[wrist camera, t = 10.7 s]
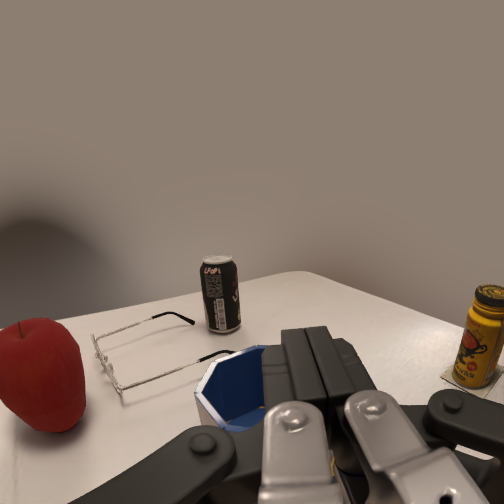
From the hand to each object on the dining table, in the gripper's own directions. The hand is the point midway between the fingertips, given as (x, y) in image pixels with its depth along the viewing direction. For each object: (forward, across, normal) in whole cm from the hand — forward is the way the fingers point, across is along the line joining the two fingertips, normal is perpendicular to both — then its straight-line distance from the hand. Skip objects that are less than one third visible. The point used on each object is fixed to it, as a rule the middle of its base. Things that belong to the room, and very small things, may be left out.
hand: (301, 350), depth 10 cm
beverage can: (+36, +7, +18) cm, 41 cm away
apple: (+11, +25, +18) cm, 33 cm away
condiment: (+14, -26, +19) cm, 35 cm away
